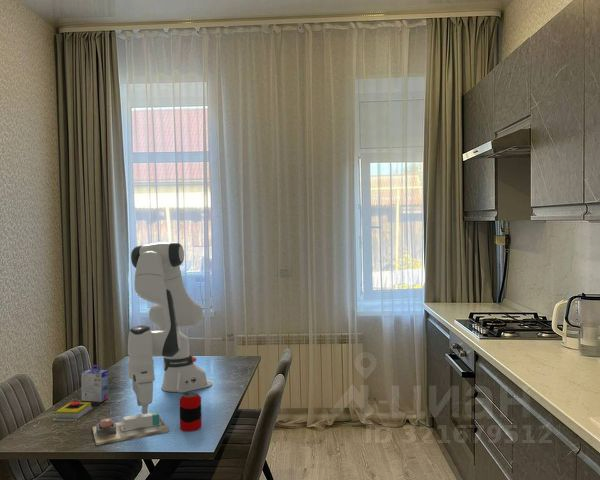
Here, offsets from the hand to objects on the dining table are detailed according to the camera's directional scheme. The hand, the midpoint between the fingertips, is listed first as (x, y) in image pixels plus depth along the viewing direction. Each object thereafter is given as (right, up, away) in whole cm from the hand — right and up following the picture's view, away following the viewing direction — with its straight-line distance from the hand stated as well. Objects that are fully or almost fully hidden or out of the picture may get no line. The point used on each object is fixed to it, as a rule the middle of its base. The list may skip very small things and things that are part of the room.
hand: (142, 409), depth 185 cm
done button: (-11, -5, -6) cm, 13 cm away
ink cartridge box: (-30, -7, +33) cm, 45 cm away
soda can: (+18, -7, 0) cm, 19 cm away
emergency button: (-32, -8, +16) cm, 37 cm away
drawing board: (-4, -7, -2) cm, 8 cm away
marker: (0, -6, 0) cm, 6 cm away
